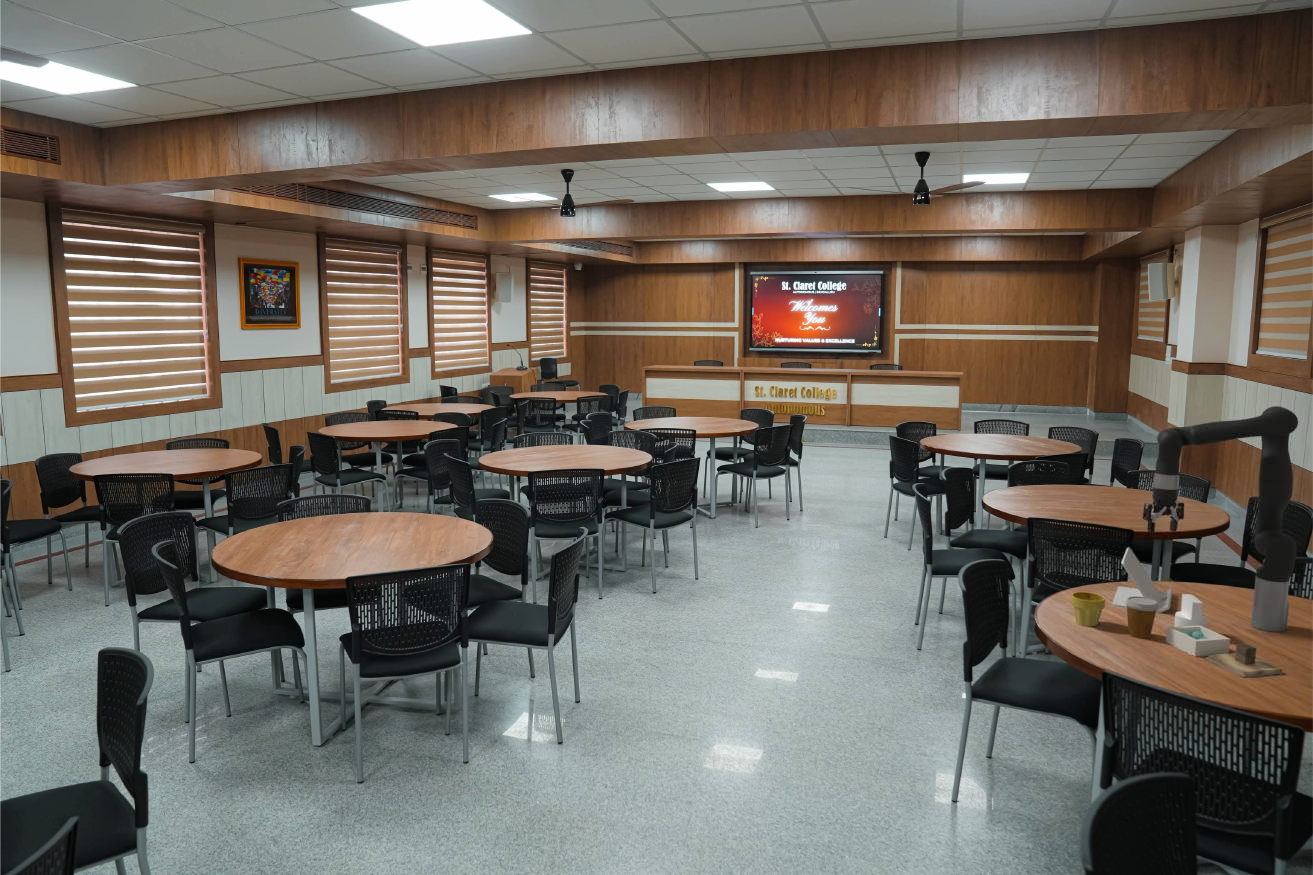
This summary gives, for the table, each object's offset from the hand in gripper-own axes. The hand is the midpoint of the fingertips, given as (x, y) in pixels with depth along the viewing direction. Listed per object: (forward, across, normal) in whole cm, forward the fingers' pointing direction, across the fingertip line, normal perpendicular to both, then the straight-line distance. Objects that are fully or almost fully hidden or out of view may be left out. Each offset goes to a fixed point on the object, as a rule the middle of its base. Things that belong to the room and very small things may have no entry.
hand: (1162, 531), depth 298 cm
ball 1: (+27, +12, +28) cm, 41 cm away
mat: (+30, +7, +45) cm, 55 cm away
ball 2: (+27, +8, +28) cm, 40 cm away
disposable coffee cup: (+30, +20, +17) cm, 40 cm away
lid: (+30, +7, +45) cm, 54 cm away
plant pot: (+30, +30, +4) cm, 43 cm away
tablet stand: (+31, -6, -14) cm, 34 cm away
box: (+30, +10, +30) cm, 44 cm away
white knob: (+30, +2, +18) cm, 35 cm away
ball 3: (+27, +10, +33) cm, 44 cm away
